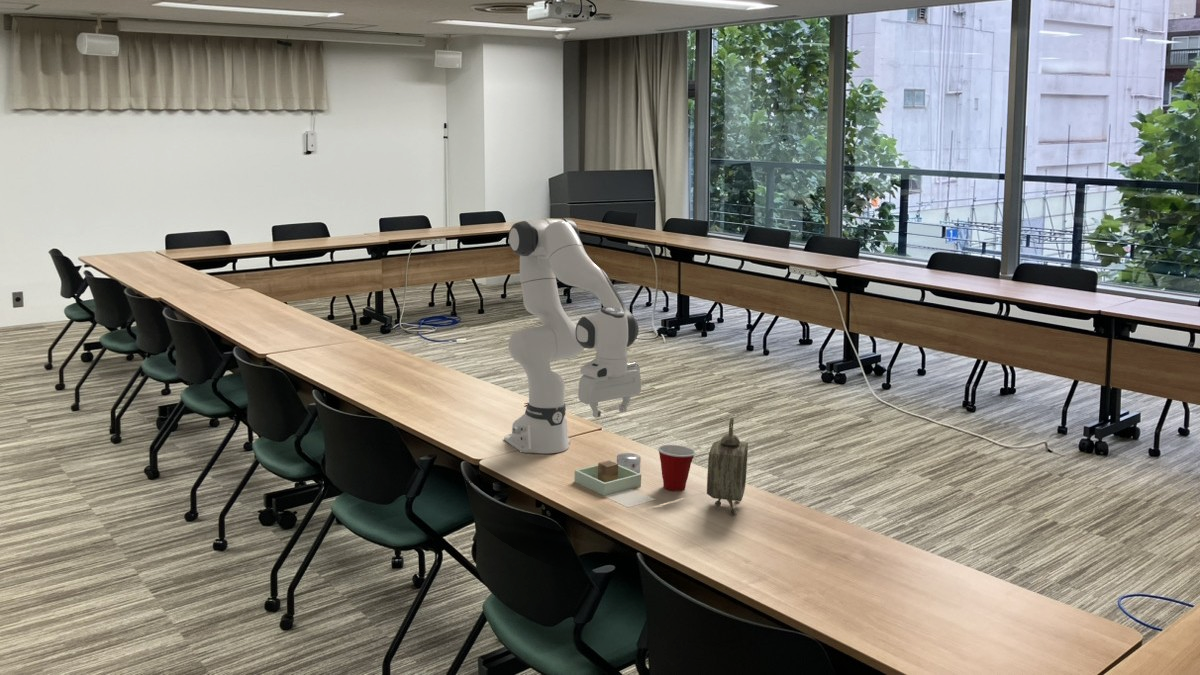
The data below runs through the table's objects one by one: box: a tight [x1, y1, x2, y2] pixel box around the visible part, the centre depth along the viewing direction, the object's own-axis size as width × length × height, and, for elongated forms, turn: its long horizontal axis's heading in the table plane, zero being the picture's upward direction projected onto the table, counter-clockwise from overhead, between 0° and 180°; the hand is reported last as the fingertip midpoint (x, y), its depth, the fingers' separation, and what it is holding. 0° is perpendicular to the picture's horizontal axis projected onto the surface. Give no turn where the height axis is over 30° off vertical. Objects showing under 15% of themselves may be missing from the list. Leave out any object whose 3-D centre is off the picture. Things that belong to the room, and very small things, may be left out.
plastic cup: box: [657, 444, 697, 492], centre depth 288 cm, size 11×11×12 cm
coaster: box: [603, 488, 656, 508], centre depth 280 cm, size 10×10×1 cm
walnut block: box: [597, 460, 618, 482], centre depth 290 cm, size 4×4×6 cm
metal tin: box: [616, 452, 642, 474], centre depth 301 cm, size 7×7×5 cm
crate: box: [573, 464, 642, 496], centre depth 290 cm, size 13×13×4 cm
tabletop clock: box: [706, 417, 749, 516], centre depth 275 cm, size 14×9×25 cm, turn 166°
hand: (609, 414), depth 286 cm, fingers open, 8 cm apart
